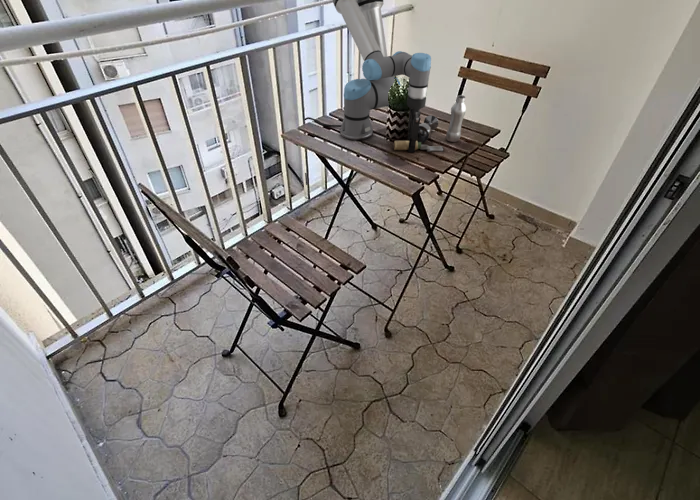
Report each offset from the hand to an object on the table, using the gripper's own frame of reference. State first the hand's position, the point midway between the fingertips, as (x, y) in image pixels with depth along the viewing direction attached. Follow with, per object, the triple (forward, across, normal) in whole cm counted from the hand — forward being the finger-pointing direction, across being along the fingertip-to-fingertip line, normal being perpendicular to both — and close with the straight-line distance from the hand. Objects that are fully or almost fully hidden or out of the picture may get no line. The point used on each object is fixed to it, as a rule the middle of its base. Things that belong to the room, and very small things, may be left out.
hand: (410, 149), depth 172 cm
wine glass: (-4, -20, +12) cm, 24 cm away
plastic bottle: (0, -9, +20) cm, 22 cm away
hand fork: (0, 0, +3) cm, 3 cm away
